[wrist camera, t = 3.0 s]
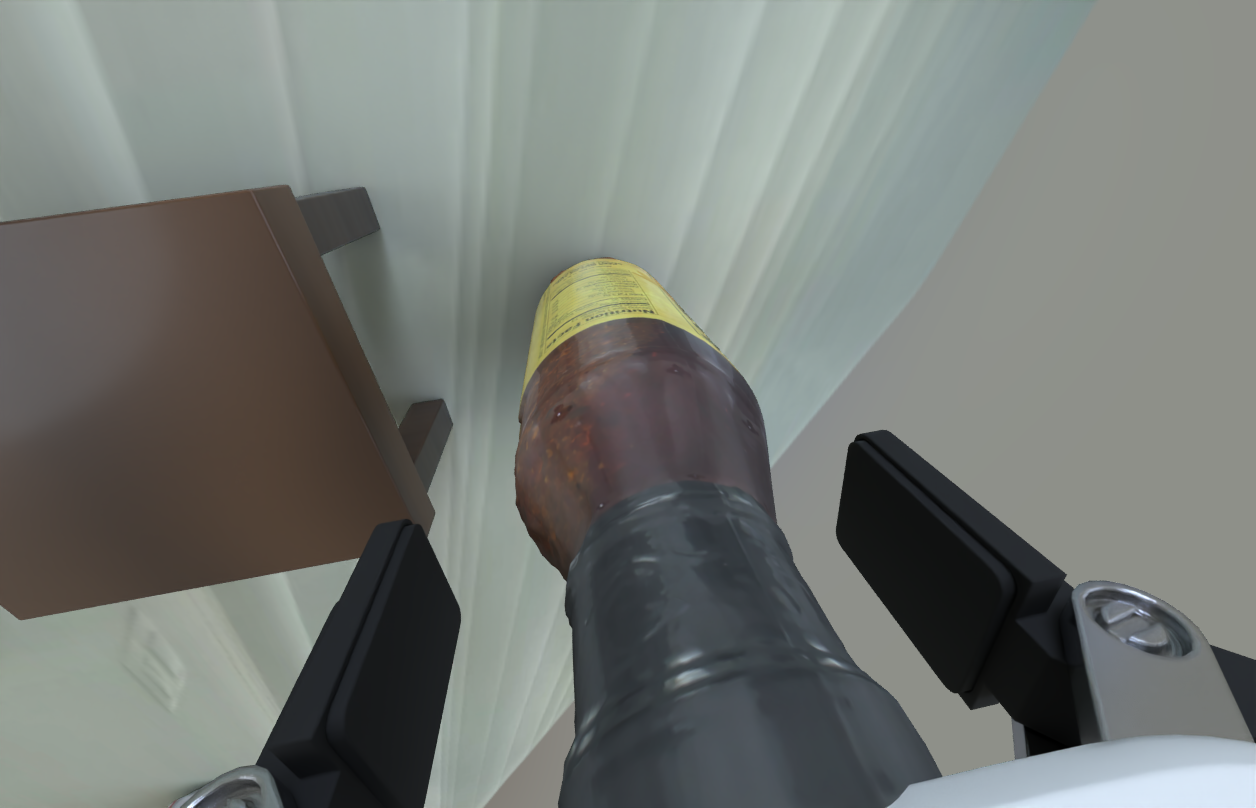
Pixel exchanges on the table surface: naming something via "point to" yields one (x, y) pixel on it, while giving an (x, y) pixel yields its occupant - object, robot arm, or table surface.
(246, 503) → the plate
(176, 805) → the soda can
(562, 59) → the table surface
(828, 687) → the sauce bottle
